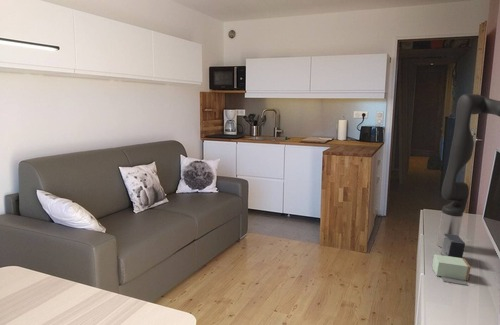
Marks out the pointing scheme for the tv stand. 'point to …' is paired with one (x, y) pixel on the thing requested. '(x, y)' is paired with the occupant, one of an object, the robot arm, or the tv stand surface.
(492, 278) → the tv stand surface
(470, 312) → the tv stand surface
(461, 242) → the small box
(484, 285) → the tv stand surface
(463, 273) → the sage block
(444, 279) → the mat
